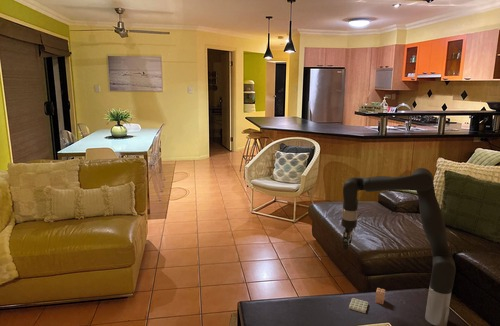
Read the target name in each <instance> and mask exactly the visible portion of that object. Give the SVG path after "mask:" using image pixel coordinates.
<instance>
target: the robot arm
mask: <svg viewBox="0 0 500 326" xmlns="http://www.w3.org/2000/svg"><path fill="white" fill-rule="evenodd" d="M342 187H343V188H342V196H343V198H342V199H343V202H342V211H341V223H340V225H341V227H343V228H344V229H343V233H342V244H343V245H342V246H343V249H342V250H343V251H346V252H348V251H349V245H352V241H353V239H352V237H353V235H354V229H355V228H357V225H358V207H359V206H358V205H359V201H358V192H359V191H365V192H369V193H372V192H385V191H410V192H411V191H412V192H416V194H417V198H418V205H419V206H418V207H419V215H420V221H421V225H422V226H421V227H422V229H423V232H424V234H425V237H426V239H427V240H428V242H429V245H430V247H431V248H430V249H431V254H432V270H431V276H430V281H429V287H428V294H427V301H426V307H425V315H424V319H425V320H426V321H427V323H429V324H430V325H433V326H448V319H449V314H450V302H451V297H452V292H453V288H454V283H455V279H456V278H455V277H456V263H455V259H454V258H453V255H452V252H451V250H450V247H449V244H448V237H447V236H448V235H447V234H448V233H447V229H446V224H445V219H444V216H443V213H442V210H441V207H440V204H439V201H438V199H437V195H436V191H435V184H434V175H433V173H432V172H431V171H430V170H429V169H427V168H425V167H419V168H417V169H415V170H414V171H413V172H412V174H410V175H403V176H386V175H385V176H384V175H381V176H369V177H363V176H362V177H360V176H359V177H358V176H355V177H350V178H348V179H346V181H345V182H344V184H343V186H342Z"/></svg>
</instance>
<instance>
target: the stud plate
mask: <svg viewBox="0 0 500 326" xmlns="http://www.w3.org/2000/svg"><path fill="white" fill-rule="evenodd" d="M350 300H351V301H350V303H349V305H348V310H353V311H357V312H359V313H363V314H366V313H367V309H368V305H369V302H368V301H366V300H363V299H362V300H361V299H358V298H355V297H352V298H351V299H350Z"/></svg>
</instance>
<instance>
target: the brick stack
mask: <svg viewBox="0 0 500 326" xmlns="http://www.w3.org/2000/svg"><path fill="white" fill-rule="evenodd" d="M385 296H386V289H384V288H380V287H377V288H376V292H375V300H374V301H375V302H374V303H377V304H379V305H384V303H385Z"/></svg>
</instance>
